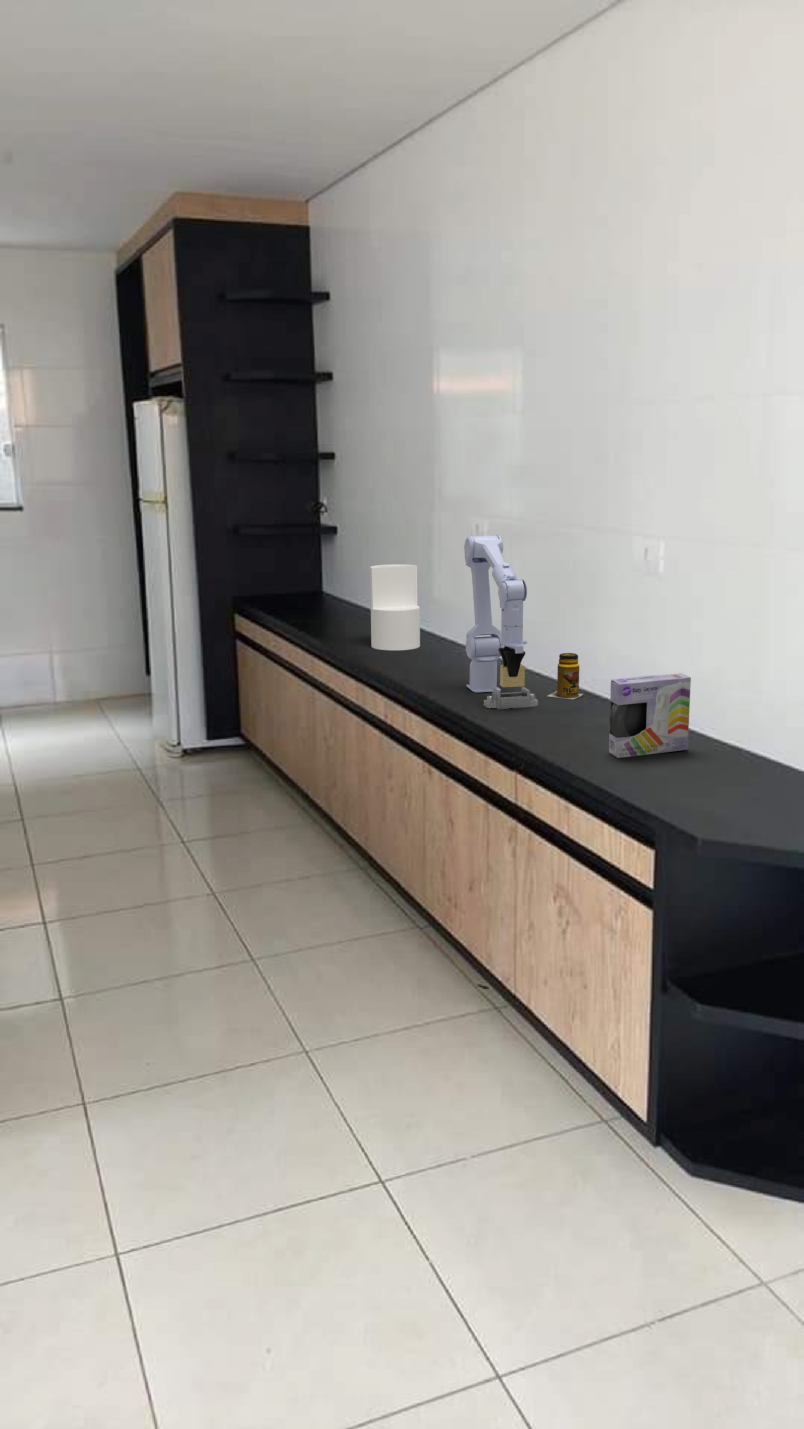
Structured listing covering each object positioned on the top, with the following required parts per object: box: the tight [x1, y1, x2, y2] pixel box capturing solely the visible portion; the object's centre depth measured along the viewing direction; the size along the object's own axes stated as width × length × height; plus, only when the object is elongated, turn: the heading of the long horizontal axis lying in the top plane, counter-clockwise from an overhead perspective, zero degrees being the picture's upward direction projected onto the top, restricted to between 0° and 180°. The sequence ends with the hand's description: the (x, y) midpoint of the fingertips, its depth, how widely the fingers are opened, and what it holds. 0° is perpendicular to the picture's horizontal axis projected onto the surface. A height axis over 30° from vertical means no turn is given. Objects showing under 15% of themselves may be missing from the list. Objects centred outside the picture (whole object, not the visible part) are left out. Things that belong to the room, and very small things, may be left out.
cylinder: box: [369, 563, 421, 651], centre depth 396 cm, size 17×17×28 cm
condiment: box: [547, 652, 584, 700], centre depth 316 cm, size 7×8×12 cm
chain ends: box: [483, 686, 539, 710], centre depth 305 cm, size 6×14×4 cm, turn 101°
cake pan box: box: [608, 672, 692, 759], centre depth 256 cm, size 19×5×18 cm, turn 106°
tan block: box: [499, 663, 526, 688], centre depth 303 cm, size 3×6×6 cm, turn 101°
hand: (511, 675), depth 303 cm, fingers closed on tan block, 3 cm apart
